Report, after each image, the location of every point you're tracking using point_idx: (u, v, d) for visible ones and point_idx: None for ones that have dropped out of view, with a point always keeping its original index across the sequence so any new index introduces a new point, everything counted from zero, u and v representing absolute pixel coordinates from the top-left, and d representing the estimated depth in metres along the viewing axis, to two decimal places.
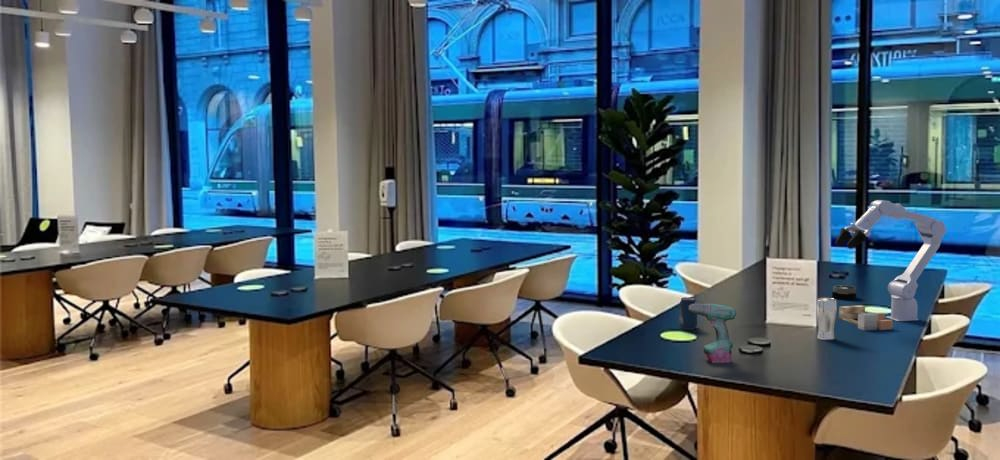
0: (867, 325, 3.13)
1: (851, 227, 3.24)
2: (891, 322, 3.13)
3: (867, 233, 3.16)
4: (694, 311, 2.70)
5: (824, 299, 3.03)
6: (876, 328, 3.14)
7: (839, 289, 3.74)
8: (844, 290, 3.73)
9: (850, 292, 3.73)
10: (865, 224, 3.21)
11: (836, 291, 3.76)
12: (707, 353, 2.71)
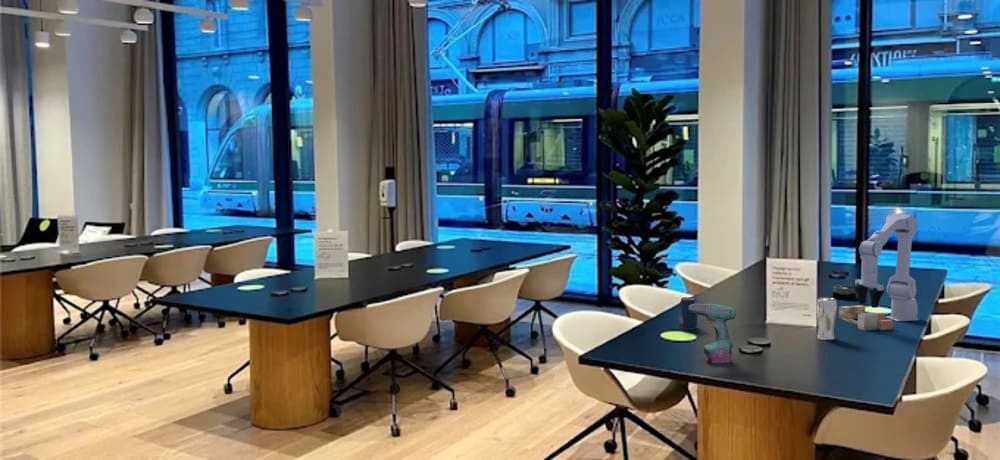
0: (867, 325, 3.13)
1: None
2: (891, 322, 3.13)
3: (880, 288, 3.07)
4: (694, 311, 2.70)
5: (824, 299, 3.03)
6: (876, 328, 3.14)
7: (840, 289, 3.74)
8: (845, 290, 3.73)
9: (851, 292, 3.73)
10: (871, 277, 3.11)
11: (837, 291, 3.75)
12: (707, 353, 2.71)
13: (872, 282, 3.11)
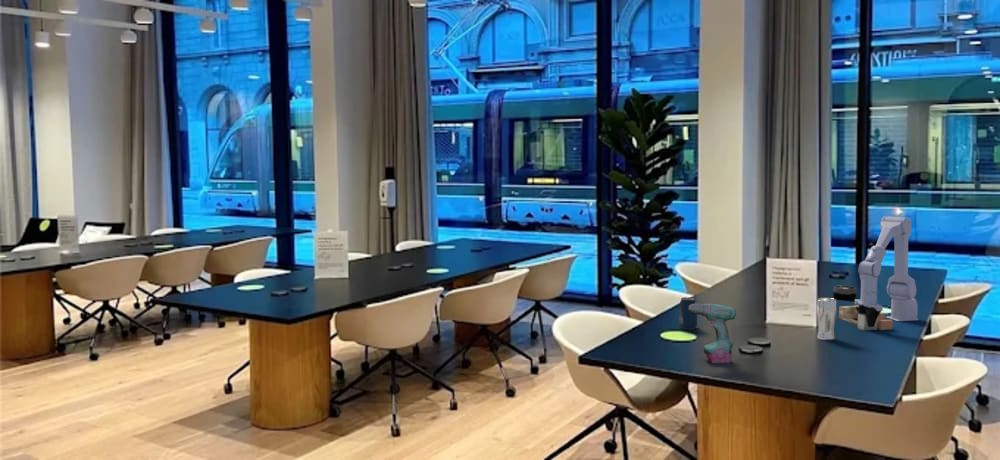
0: (867, 325, 3.13)
1: None
2: (891, 322, 3.13)
3: (879, 309, 3.07)
4: (694, 311, 2.70)
5: (824, 299, 3.03)
6: (876, 328, 3.14)
7: (841, 289, 3.74)
8: (846, 290, 3.72)
9: (851, 292, 3.72)
10: (870, 297, 3.11)
11: (837, 291, 3.75)
12: (707, 353, 2.71)
13: (871, 302, 3.12)
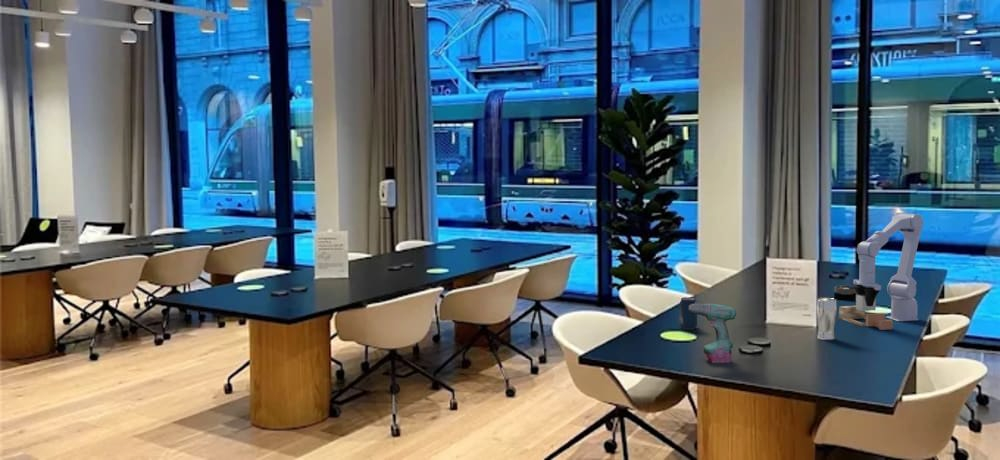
0: (865, 306, 3.19)
1: None
2: (891, 322, 3.13)
3: (878, 288, 3.13)
4: (694, 311, 2.70)
5: (824, 299, 3.03)
6: (874, 308, 3.20)
7: (842, 289, 3.73)
8: (847, 290, 3.72)
9: (852, 292, 3.72)
10: (869, 277, 3.17)
11: (838, 292, 3.74)
12: (707, 353, 2.71)
13: (870, 282, 3.17)
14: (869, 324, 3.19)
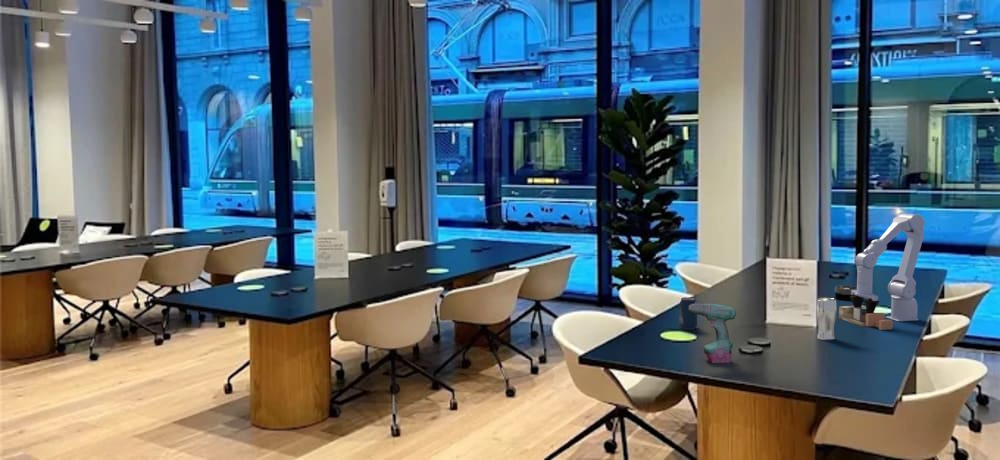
0: (862, 319, 3.25)
1: None
2: (891, 322, 3.13)
3: (875, 299, 3.19)
4: (694, 311, 2.70)
5: (824, 299, 3.03)
6: None
7: (843, 290, 3.72)
8: (848, 291, 3.71)
9: None
10: (866, 287, 3.23)
11: (840, 292, 3.74)
12: (707, 353, 2.71)
13: (867, 293, 3.23)
14: (869, 324, 3.19)
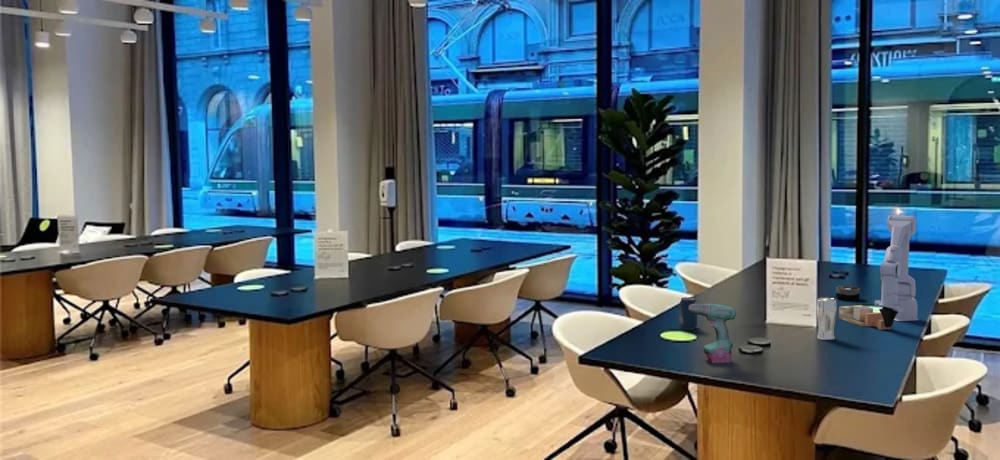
0: (862, 319, 3.25)
1: None
2: None
3: (901, 310, 3.05)
4: (694, 311, 2.70)
5: (824, 299, 3.03)
6: None
7: (846, 290, 3.71)
8: (851, 291, 3.70)
9: (856, 293, 3.71)
10: (891, 298, 3.08)
11: (843, 292, 3.72)
12: (707, 353, 2.71)
13: (892, 303, 3.09)
14: (868, 324, 3.19)
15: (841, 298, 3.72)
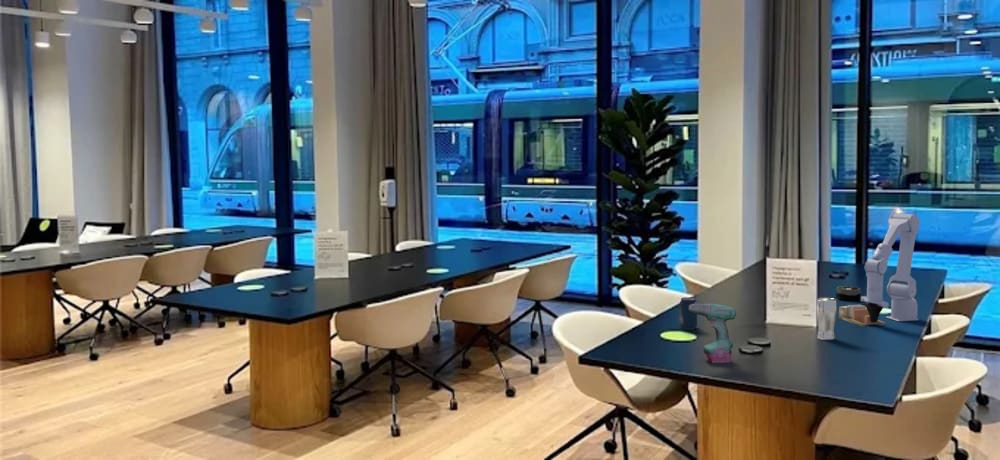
0: None
1: None
2: None
3: (886, 305, 3.13)
4: (694, 311, 2.70)
5: (824, 299, 3.03)
6: None
7: (848, 290, 3.70)
8: (853, 291, 3.70)
9: (858, 293, 3.71)
10: (876, 294, 3.17)
11: (844, 293, 3.71)
12: (707, 353, 2.71)
13: (878, 299, 3.17)
14: (855, 319, 3.28)
15: (842, 298, 3.72)
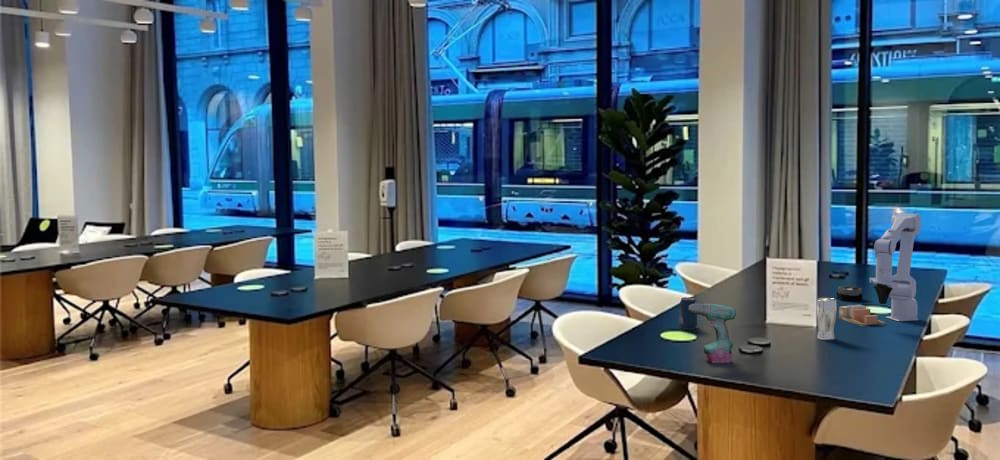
0: None
1: None
2: (876, 317, 3.22)
3: (895, 286, 3.07)
4: (694, 311, 2.70)
5: (824, 299, 3.03)
6: None
7: (850, 291, 3.70)
8: (855, 291, 3.69)
9: (859, 293, 3.71)
10: (886, 275, 3.11)
11: (846, 293, 3.71)
12: (707, 353, 2.71)
13: (887, 280, 3.11)
14: (855, 319, 3.28)
15: (845, 299, 3.71)
